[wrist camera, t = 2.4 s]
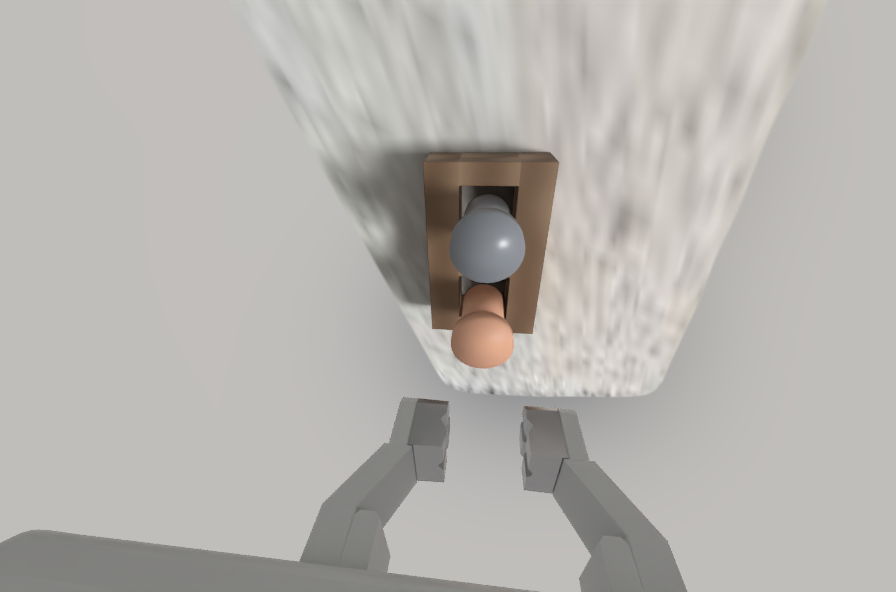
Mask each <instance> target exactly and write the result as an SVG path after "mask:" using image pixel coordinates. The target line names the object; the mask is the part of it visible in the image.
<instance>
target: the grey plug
mask: <svg viewBox="0 0 896 592" xmlns="http://www.w3.org/2000/svg"><path fill="white" fill-rule="evenodd" d="M449 252H450V258H451V261H452V263H453V265H454V266H455V268H456V269H457V270H458V271H459V272H460V273H461V274H462V275H463V276H465V277H466V278H468V279H470V280H472V281H475V282H480V283H494V282H498V281H501V280H504V279H506V278H508V277H509V276H511V275H512V274H513V273H514V272H515V271H516V270H517V269H518V268H519V266H520V265H521V263H522V261H523V259H524V255H525V240H524V236H523V232H522V229H521V227H520V225H519V223H518V222H517V220H516V219H515V218H514V217H513V216H512V215H510V211H509V208H508V205H507V204H506V203H505V201H504V200H503V199H501V198H500V197H498V196H495V195H491V194H485V195H481V196H478V197H476V198H474V199H473V200H472V201H471V202H470V203H469V204H468V206H467V208H466V210H465V215H464V216H463V217H462V218H461V219H460V220H459V221H458V222H457V224H456V225H455V227H454V229H453V232H452V236H451V240H450V245H449Z"/></svg>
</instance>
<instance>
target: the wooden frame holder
mask: <svg viewBox="0 0 896 592" xmlns="http://www.w3.org/2000/svg"><path fill="white" fill-rule="evenodd" d="M558 166H559V162H558V161H557V160H556V158H555V157H554V156H553V155H552V154H551V153H430V154H429V155H428V157H427V158H426V159H425V160H424V162H423V173H424V190H425V208H426V226H427V244H428V261H429V279H430V297H431V314H432V329H447V330H453V328H454V325H455V324H456V322H457V321H458V320H459V319H460V318H461V317H462V310H463V301H464V296H465V295H462V276H463V275H462V274H461V273H460V272H459V271H458V270H457V269H456V268H455V266H454V265H453V263H452V261H451V258H450V252H449V245H450V240H451V236H452V232H453V229H454V227H455V225H456V224H457V222H458V221H459V220H460V219H461V218H462V186H514V195H513V206H512V216H513V217H514V218H515V219H516V220H517V222H518V223H519V225H520V227H521V229H522V232H523V236H524V240H525V255H524V259H523V261H522V263H521V265H520V266H519V268H518V269H517V270H516V271H515V272H514V273H513V274H512V275H511V276H509V277H508V278H506V284H505V295H504V296H502V298H503V310H504V319H505V320H506V321H507V322H508V323H509V325H510V326H511V328H512V332H513V333H526V334H532V333H533V326H534V320H535V314H536V307H537V301H538V294H539V288H540V282H541V275H542V269H543V262H544V256H545V250H546V243H547V237H548V230H549V224H550V218H551V211H552V205H553V198H554V192H555V186H556V179H557V173H558Z"/></svg>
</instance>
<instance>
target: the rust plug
mask: <svg viewBox="0 0 896 592" xmlns="http://www.w3.org/2000/svg"><path fill="white" fill-rule="evenodd" d="M451 348H452V351H453V353H454V355H455V356H456V357H457V358H458V359H459V360H460V361H461V362H463V363H464V364H466V365H469V366H471V367H475V368H492V367H495V366H498V365H500V364H502V363H504V362H505V361H506V360H507V359H508V358H509V357H510V356H511V354H512V352H513V349H514V341H513V332H512V328H511V326H510V325H509V323H508V322H507V321H506V320H505V319H504V310H503V298H502V295H501V293H500V292H499V290H497V289H496V288H495V287H493V286H490V285H486V284H480V285H476V286H473V287H471V288H470V289H469V290H468V291H467V292H466V294H465V296H464V301H463V310H462V317H461V318H460V319H459V320H458V321H457V322H456V324H455V325H454V328H453V332H452V339H451Z"/></svg>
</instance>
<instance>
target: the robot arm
mask: <svg viewBox="0 0 896 592" xmlns="http://www.w3.org/2000/svg"><path fill="white" fill-rule="evenodd" d="M449 408H450V407H449V401H439V400H428V399H418V398H406V397H403V398H402V400H401V402H400V406H399V409H398V413H397V416H396V420H395V423H394V427H393V431H392V434H391V438H390V442H389V444H388V443H384V444H383V445H382V446H381V447H380V448H379V449H378V450H377V451H376V452H375V453H374V454H373V455H372V456H371V457H370V458H369V459H368V460H367V461H366V462H365V463H364V464H363V465H362V466H361V467H359V468H358V469H357V471H355V472H354V473H353V474H352V476H350V477H349V478H348V479H347V480H346V481H345V482H344V483H343V484H342V485H341V486H340V487H339V488H338V489H337V490H336V491H335V492H334V493H333V494H332V495H331V496H330V497H329V498H328V499H327V500H326V501H325V502H324V503H323V504H322V506H321V509H320V511H319V514H318V516H317V519H316V521H315V524H314V526H313V529H312V531H311V534H310V536H309V539H308V541H307V544H306V546H305V549H304V551H303V554H302V556H301V559H300V561H299V562H297V561H289V560H281V559H272V558H265V557H257V556H249V555H240V554H233V553H224V552H216V551H208V550H201V549H193V548H184V547H176V546H168V545H160V544H152V543H145V542H136V541H128V540H120V539H111V538H103V537H95V536H87V535H79V534H71V533H65V532H57V531H50V530H30V531H27V532H23V533H20V534H18V535H16V536H14V537H12V538H10V539H7V540H6V541H3V542H1V543H0V592H537V591H529V590H521V589H513V588H505V587H497V586H489V585H481V584H473V583H465V582H457V581H449V580H441V579H433V578H425V577H417V576H409V575H401V574H393V573H387V570H388V565H389V560H390V554H389V549H388V546H387V542H386V538H385V536H384V531H383V527H384V526H385V525H386V523H387V522H388V521H389V519H390V518H391V517H392V515H393V514H394V512H395V511H396V510H397V508H398V507H399V506H400V504H401V503H402V501H403V500H404V499H405V498H406V496H407V495H408V494H409V492H410V491H411V489H412V488H413V487H414V485H415V484H416V483H417V480H418V481H433V482H444V479H445V470H446V462H447V461H446V449H447V448H448V443H449V431H450V430H449V429H450V417H449ZM520 453H521V455H522V456H523V457H524V459H523V464H522V475H523V486H524V490H528V491H537V492H544V493H553V496H554V498H555V499H556V501H557V503H558V504H559V506H560V507H561V509H562V510H563V512H564V513H565V515H566V517H567V518H568V520H569V521H570V523H571V524H572V526H573V527H574V529H575V530H576V532H577V534H578V535H579V537H580V538H581V540H582V541H583V543H584V545H585V546H586V548H587V549H588V551H589V552H590V554H591V555H592V556H591V558H590V560H589V562H588V563H587V565H586V567H585V569H584V571H583V572H582V574H581V576H580V578H579V580H580V586H581V592H687V590H686V587H685V585H684V582H683V580H682V577H681V574H680V572H679V569H678V567H677V564H676V562H675V559H674V556H673V554H672V551H671V549H670V546H669V544H668V541H667V540H666V539H665V538H664V537H663V536H662V534H661V533H660V532H659V531H658V530H657V529H656V528H655V527H654V526H653V525H652V524H651V522H649V520H648V519H647V518H646V517H645V516H644V515H643V514H642V513H641V512H640V511H639V510H638V508H637V507H636V506H635V505H634V504H633V503H632V502H631V501H630V500H629V499H628V497H627V496H626V495H625V494H624V493H623V492H622V491H621V490H620V489H619V488H618V486H616V484H615V483H614V482H613V481H612V480H611V479H610V478H609V477H608V476H607V474H606V473H604V471H603V470H602V469H601V468H600V467H599V466H598V465H597V464H596V462H594V461H589V458H588V454H587V451H586V447H585V443H584V439H583V436H582V432H581V428H580V425H579V421H578V417H577V414H576V412H575V411H574V410H571V409H556V408H546V407H528V406H524V408H523V422H521V426H520Z"/></svg>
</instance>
